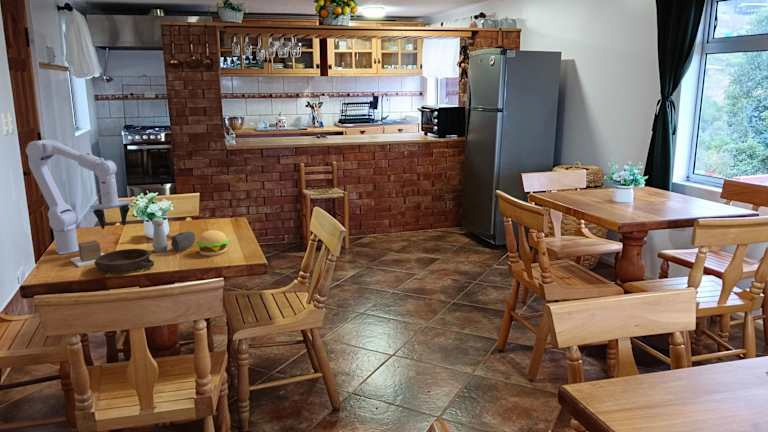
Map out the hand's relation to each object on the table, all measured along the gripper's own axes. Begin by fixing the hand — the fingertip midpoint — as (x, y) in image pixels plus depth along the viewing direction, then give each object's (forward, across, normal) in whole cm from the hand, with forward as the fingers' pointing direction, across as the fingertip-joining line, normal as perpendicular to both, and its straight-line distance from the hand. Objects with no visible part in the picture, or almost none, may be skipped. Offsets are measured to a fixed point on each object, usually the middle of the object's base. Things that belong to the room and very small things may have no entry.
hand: (113, 226), depth 225 cm
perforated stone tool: (+10, +21, -16) cm, 28 cm away
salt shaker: (+10, +13, -12) cm, 20 cm away
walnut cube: (+9, -11, -6) cm, 16 cm away
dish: (+10, -4, -25) cm, 27 cm away
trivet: (+10, -11, -6) cm, 16 cm away
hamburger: (+10, +27, -29) cm, 41 cm away
